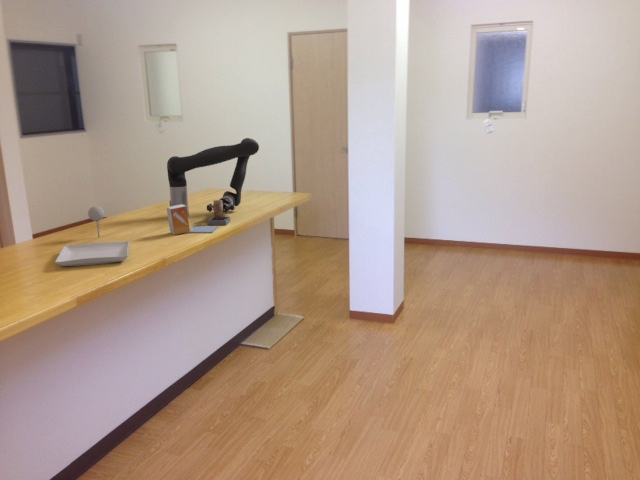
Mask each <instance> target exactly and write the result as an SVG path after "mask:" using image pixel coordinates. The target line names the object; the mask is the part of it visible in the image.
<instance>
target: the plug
mask: <svg viewBox="0 0 640 480" xmlns="http://www.w3.org/2000/svg"><path fill="white" fill-rule="evenodd" d="M213 204H214V211H213V214H214V216H213V217H215V220H224V219H223V217H224V212H223V201H222V200H219V199H215V200H213Z"/></svg>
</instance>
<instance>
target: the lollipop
mask: <svg viewBox="0 0 640 480" xmlns="http://www.w3.org/2000/svg"><path fill="white" fill-rule="evenodd" d="M87 215H88V218H89V220H92V221H93V222H96V229H97V237H98V238H100V229H99V227H100V226H99V221H101V220H103V218H104V217H105V211H104V209H103V208H102V207H101V206H98V205H96V206H95V205H94V206H91V207H90V208H89V209H88V212H87Z"/></svg>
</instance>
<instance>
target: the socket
mask: <svg viewBox="0 0 640 480" xmlns="http://www.w3.org/2000/svg"><path fill="white" fill-rule="evenodd" d="M223 219H224V220H215V217H214V216H211V217H210V218H209V219H207V226H226V225H228V224H229V223H230V222H231V217H230V216H223Z"/></svg>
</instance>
